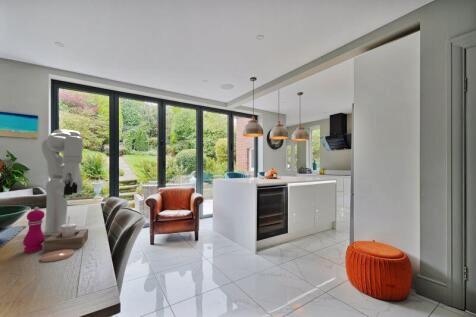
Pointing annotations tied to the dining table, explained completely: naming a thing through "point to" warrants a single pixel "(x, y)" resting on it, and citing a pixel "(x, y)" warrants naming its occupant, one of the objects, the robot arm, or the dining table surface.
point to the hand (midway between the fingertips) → (70, 193)
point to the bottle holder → (65, 241)
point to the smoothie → (68, 229)
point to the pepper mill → (34, 231)
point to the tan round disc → (56, 255)
